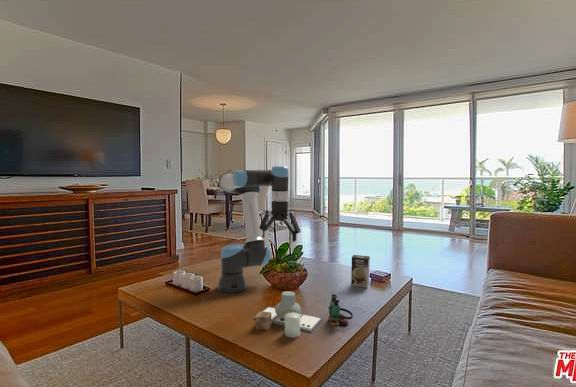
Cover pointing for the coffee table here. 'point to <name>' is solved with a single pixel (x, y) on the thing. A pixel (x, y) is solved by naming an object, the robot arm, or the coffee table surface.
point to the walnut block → (263, 320)
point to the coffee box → (360, 271)
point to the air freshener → (287, 305)
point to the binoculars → (337, 312)
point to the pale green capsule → (292, 325)
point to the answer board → (306, 321)
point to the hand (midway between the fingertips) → (279, 246)
